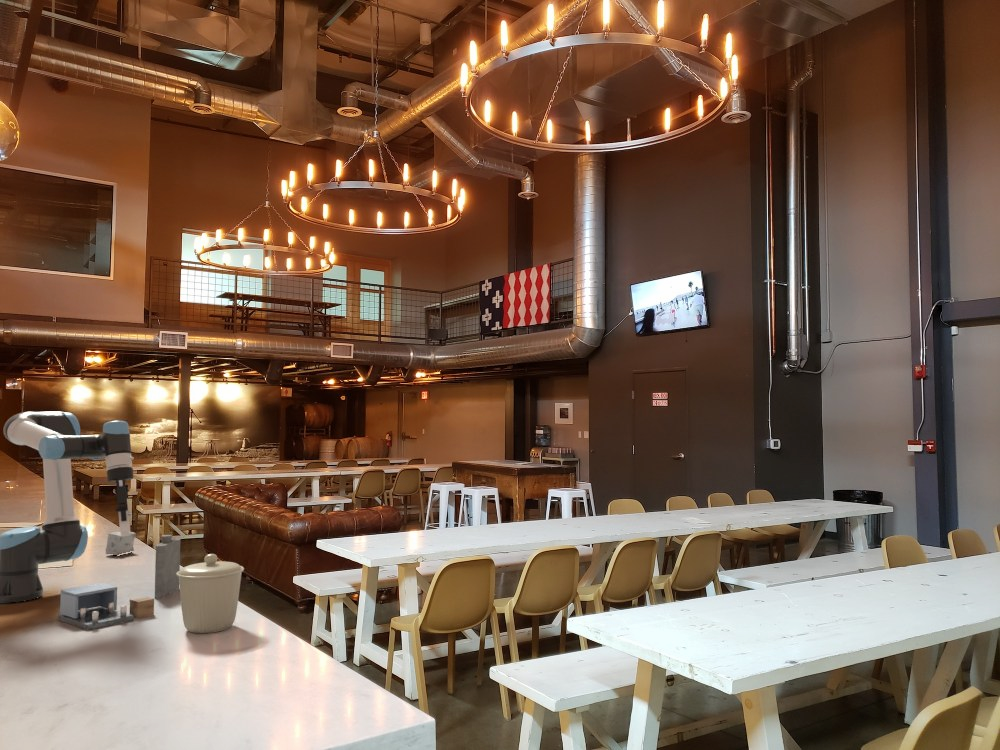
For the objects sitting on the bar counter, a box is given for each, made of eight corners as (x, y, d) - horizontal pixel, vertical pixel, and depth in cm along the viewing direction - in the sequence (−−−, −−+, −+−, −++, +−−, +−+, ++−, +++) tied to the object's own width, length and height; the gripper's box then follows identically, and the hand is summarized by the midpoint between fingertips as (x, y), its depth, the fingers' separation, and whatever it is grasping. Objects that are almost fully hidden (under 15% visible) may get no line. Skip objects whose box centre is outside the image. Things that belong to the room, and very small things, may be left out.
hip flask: (162, 598, 245) (164, 538, 247) (150, 598, 245) (151, 538, 246) (180, 588, 261) (181, 531, 262) (169, 588, 261) (170, 531, 262)
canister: (177, 641, 196) (179, 562, 197) (172, 625, 212) (174, 552, 213) (247, 632, 204) (248, 556, 205) (238, 617, 220) (239, 546, 221)
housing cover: (60, 613, 219) (60, 589, 220) (101, 605, 229) (102, 582, 229) (74, 618, 213) (75, 594, 214) (116, 610, 223) (117, 586, 223)
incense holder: (119, 557, 325) (120, 533, 326) (104, 556, 327) (105, 533, 328) (136, 553, 334) (137, 530, 335) (121, 552, 337) (122, 530, 337)
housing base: (57, 619, 219) (57, 604, 219) (102, 610, 229) (102, 596, 230) (87, 630, 207) (87, 614, 207) (133, 620, 217) (133, 605, 218)
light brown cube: (129, 616, 223) (129, 599, 223) (145, 612, 227) (146, 596, 227) (137, 618, 220) (137, 601, 220) (153, 615, 224) (154, 598, 224)
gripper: (132, 460, 227) (138, 528, 222) (133, 472, 248) (138, 535, 244) (104, 463, 223) (110, 532, 219) (108, 476, 245) (113, 539, 240)
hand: (125, 534), depth 231 cm, fingers open, 13 cm apart
